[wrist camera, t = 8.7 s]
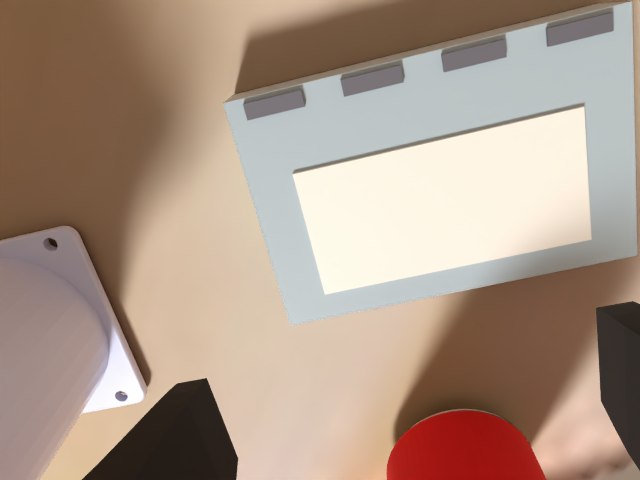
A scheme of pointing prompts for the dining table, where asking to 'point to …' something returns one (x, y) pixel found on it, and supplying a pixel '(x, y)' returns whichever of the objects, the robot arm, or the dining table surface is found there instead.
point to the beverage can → (463, 449)
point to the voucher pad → (446, 164)
